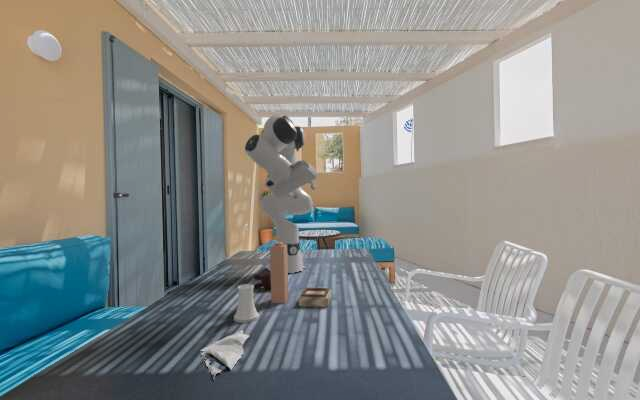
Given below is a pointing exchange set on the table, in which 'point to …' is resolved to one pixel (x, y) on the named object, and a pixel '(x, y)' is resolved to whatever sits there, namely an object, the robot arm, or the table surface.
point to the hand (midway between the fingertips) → (305, 193)
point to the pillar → (279, 272)
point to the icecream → (263, 280)
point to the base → (315, 297)
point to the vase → (246, 305)
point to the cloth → (226, 351)
